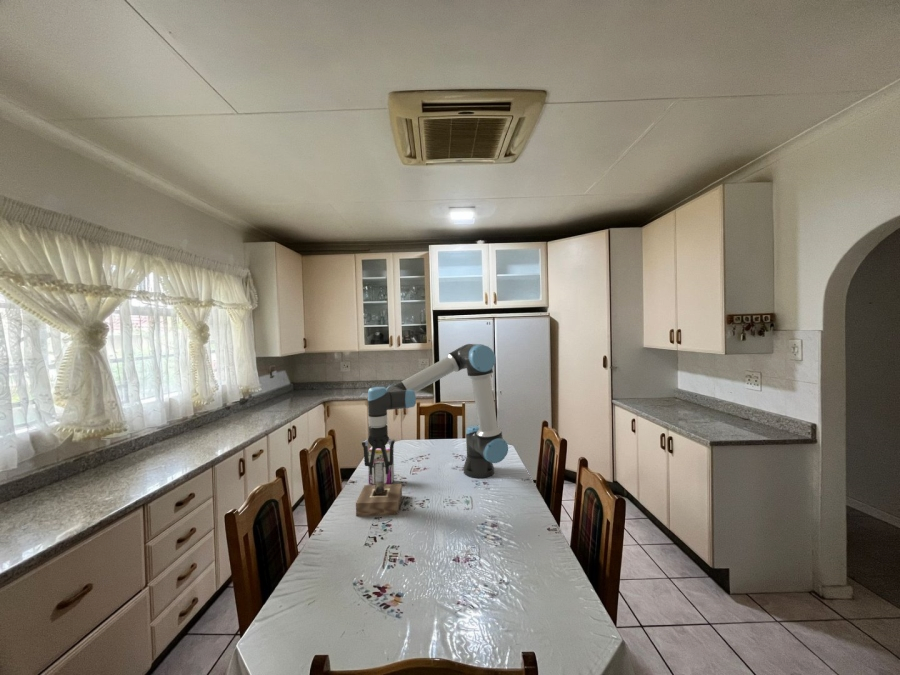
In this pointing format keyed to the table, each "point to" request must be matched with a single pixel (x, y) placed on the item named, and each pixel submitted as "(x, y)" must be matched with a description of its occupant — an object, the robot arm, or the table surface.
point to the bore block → (379, 500)
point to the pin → (379, 477)
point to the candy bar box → (380, 458)
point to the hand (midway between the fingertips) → (379, 481)
